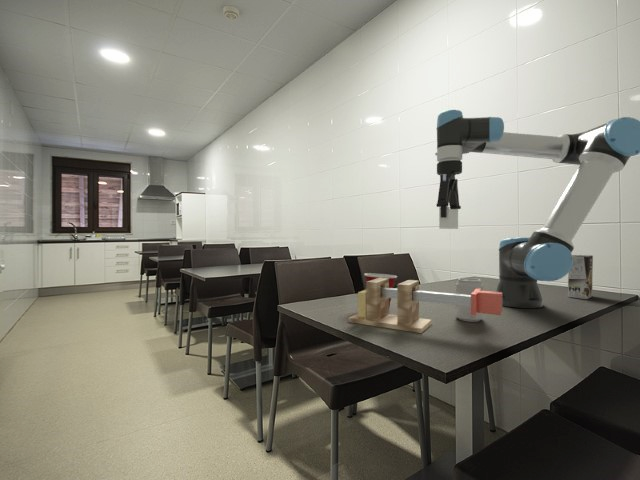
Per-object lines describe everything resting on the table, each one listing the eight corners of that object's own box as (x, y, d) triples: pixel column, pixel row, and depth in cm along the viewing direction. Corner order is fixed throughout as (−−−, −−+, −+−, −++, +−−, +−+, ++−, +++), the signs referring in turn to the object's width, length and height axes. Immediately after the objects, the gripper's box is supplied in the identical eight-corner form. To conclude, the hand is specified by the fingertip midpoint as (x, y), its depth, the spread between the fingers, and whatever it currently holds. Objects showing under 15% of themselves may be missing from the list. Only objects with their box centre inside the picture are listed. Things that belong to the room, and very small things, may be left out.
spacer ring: (376, 313, 104) (376, 289, 103) (365, 319, 97) (365, 293, 97) (368, 312, 105) (368, 288, 105) (358, 317, 99) (358, 292, 98)
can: (486, 323, 97) (486, 280, 96) (458, 321, 98) (458, 280, 98) (479, 316, 104) (479, 277, 104) (453, 315, 105) (453, 276, 105)
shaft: (503, 310, 86) (503, 290, 86) (500, 318, 78) (500, 296, 78) (386, 297, 103) (386, 281, 103) (373, 303, 95) (373, 285, 95)
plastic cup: (404, 311, 112) (404, 274, 112) (378, 315, 106) (378, 276, 106) (382, 304, 121) (382, 271, 121) (357, 308, 116) (357, 273, 116)
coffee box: (588, 299, 128) (588, 256, 127) (567, 297, 133) (567, 255, 132) (593, 296, 134) (593, 255, 134) (572, 294, 139) (573, 254, 138)
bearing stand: (431, 324, 96) (431, 281, 96) (421, 333, 88) (421, 286, 87) (363, 314, 107) (363, 276, 107) (348, 321, 99) (348, 280, 99)
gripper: (445, 168, 121) (445, 228, 122) (426, 156, 100) (426, 228, 101) (468, 166, 117) (468, 228, 118) (453, 152, 96) (453, 228, 97)
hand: (449, 228), depth 109 cm, fingers open, 13 cm apart
